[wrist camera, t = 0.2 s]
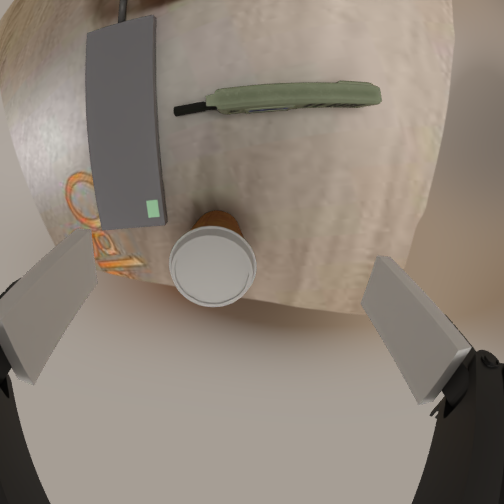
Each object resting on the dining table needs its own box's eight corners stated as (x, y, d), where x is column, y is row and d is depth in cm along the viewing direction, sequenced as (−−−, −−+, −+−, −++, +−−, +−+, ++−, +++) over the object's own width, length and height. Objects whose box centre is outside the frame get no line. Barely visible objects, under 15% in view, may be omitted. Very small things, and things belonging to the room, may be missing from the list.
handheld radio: (360, 110, 34) (177, 125, 33) (357, 88, 32) (174, 101, 32) (382, 107, 27) (165, 122, 27) (379, 82, 26) (162, 94, 26)
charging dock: (96, -8, 22) (92, -11, 20) (159, -25, 22) (156, -30, 21) (106, 226, 38) (101, 230, 37) (167, 221, 39) (164, 225, 37)
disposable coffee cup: (240, 267, 43) (243, 317, 32) (178, 252, 41) (161, 299, 30) (259, 208, 39) (269, 244, 28) (192, 191, 37) (175, 220, 26)
